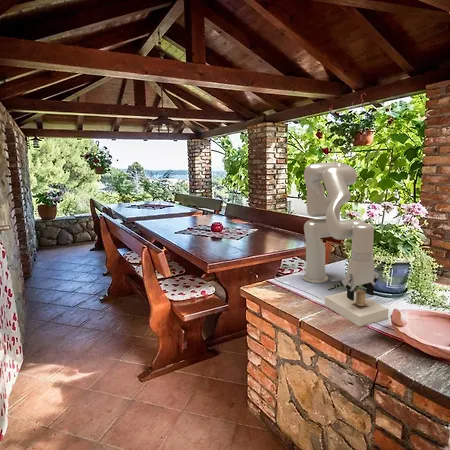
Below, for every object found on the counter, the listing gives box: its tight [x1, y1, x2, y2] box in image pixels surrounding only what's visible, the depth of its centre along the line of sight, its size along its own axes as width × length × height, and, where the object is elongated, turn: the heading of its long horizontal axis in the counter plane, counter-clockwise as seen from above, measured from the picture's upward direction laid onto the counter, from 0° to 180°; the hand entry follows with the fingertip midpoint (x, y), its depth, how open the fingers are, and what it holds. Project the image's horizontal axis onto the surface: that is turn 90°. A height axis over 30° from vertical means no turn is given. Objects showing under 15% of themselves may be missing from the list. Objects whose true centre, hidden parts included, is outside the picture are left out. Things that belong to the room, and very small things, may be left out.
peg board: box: [324, 290, 389, 328], centre depth 131 cm, size 20×14×4 cm
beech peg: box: [355, 288, 367, 309], centre depth 128 cm, size 4×4×10 cm
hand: (360, 296), depth 127 cm, fingers open, 9 cm apart
